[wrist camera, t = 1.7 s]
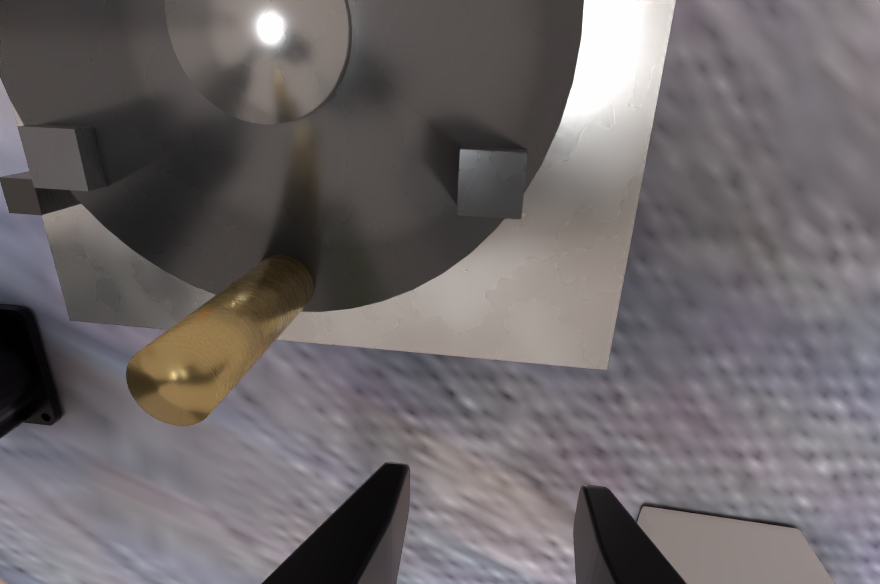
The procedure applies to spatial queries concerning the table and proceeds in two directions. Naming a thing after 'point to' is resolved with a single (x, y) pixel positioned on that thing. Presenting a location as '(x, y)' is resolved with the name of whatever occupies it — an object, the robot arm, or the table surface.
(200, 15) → the crank wheel
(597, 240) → the base plate
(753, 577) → the milk carton
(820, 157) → the table surface
